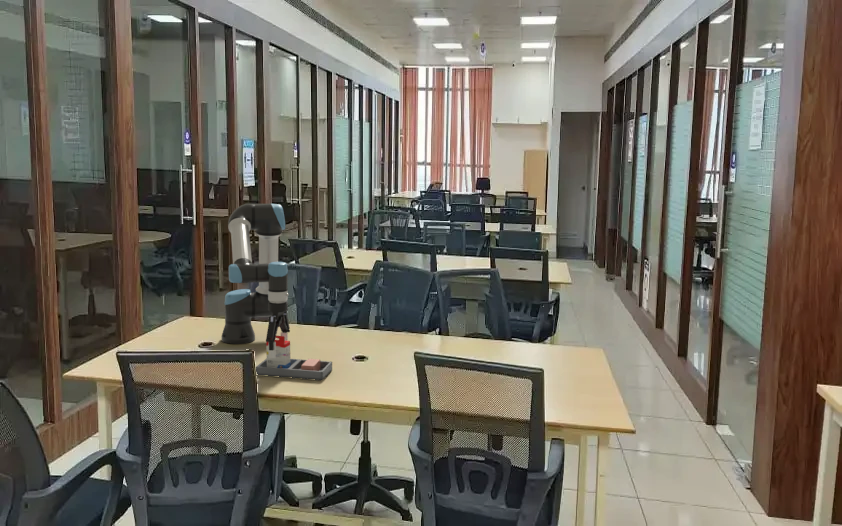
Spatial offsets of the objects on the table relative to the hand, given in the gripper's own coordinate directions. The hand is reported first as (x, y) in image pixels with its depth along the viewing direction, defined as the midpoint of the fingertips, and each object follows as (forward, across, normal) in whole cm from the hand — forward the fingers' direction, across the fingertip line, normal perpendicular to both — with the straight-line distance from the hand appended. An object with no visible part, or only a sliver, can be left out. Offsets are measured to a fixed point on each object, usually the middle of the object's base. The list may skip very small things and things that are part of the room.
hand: (278, 352), depth 274 cm
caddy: (+8, 0, -7) cm, 10 cm away
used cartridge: (+8, 0, -14) cm, 16 cm away
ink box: (+7, 0, 0) cm, 7 cm away
